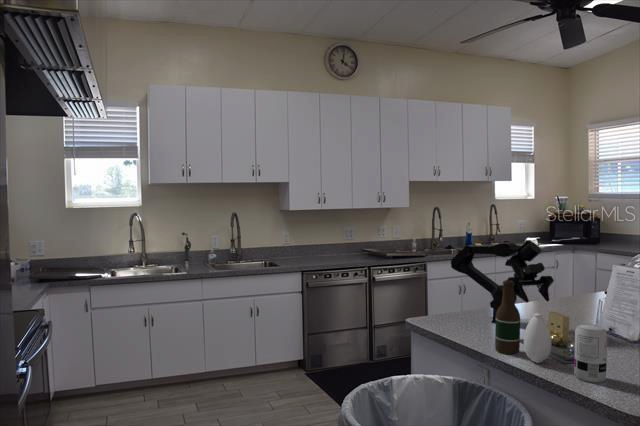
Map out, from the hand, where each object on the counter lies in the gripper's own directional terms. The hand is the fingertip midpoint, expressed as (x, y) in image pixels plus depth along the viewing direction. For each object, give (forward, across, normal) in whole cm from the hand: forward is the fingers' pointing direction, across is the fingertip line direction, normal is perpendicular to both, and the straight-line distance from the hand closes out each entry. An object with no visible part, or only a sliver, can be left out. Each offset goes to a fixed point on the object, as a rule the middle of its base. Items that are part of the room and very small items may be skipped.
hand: (538, 301), depth 192 cm
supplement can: (+40, -14, -21) cm, 47 cm away
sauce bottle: (+29, -20, -10) cm, 36 cm away
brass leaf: (+17, -2, 0) cm, 17 cm away
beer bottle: (+20, -23, -2) cm, 31 cm away
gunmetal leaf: (+27, -6, -9) cm, 30 cm away
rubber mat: (+22, -5, -4) cm, 23 cm away
